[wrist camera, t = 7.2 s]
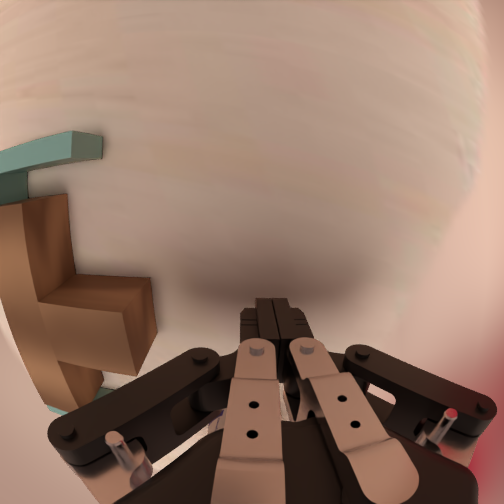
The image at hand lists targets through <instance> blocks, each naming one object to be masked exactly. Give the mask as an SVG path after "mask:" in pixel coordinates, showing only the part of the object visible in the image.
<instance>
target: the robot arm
mask: <svg viewBox="0 0 504 504" xmlns="http://www.w3.org/2000/svg"><path fill="white" fill-rule="evenodd" d="M279 383H284V391H283V398H284V402H285V405H286V409H287V412H288V416H289V419H290V421H283V420H281V414H280V393H279ZM370 383H371V384H373V385H375V386H377V387H379V388H381V389H383V390H385V391H387V392H389V393H391V394H392V395H393V396H394V397H395V399H396V403H395V405H393V404H390V403H389V402H386V401H385V400H383V399H381V398H379V397H377V396H375V395H373V394H371V393H369V392H367V390H368V388H369V385H370ZM225 408H227V412H226V419H225V425H224V428H222V429H219V430H216V431H214V432H212V433H210V434H208V435H206V436H205V437H203V438H201V439H200V440H199V441H198V442H196V443H195V444H194V445H193V446H192V447H190V448H189V449H188V450H187V451H185V452H184V453H183V454H182V455H180V456H179V457H178V458H177V459H175V460H174V461H173V462H171V463H170V464H169V465H167V466H166V467H165V468H163V469H162V470H161V471H159V472H158V473H157V474H155V475H154V476H153V477H151V475H152V472H153V468H152V464H153V463H155V462H156V461H158V460H159V459H161V458H162V457H164V456H165V455H167V454H168V453H169V452H171V451H172V450H174V449H175V448H177V447H178V446H179V445H181V444H182V443H183V442H185V441H186V440H188V439H189V438H190V437H192V436H193V435H194V434H196V433H197V432H198V431H200V430H201V429H202V428H203V427H205V426H206V425H207V424H209V423H210V422H211V421H212V420H214V419H215V418H216V417H217V416H219V415H220V413H221V412H222V409H225ZM496 413H497V407H496V404H495V403H494V401H493V400H492V399H491V398H489V397H488V396H486V395H483V394H480V393H478V392H475V391H473V390H470V389H468V388H465V387H462V386H460V385H458V384H455V383H453V382H450V381H448V380H446V379H443V378H441V377H438V376H436V375H434V374H431V373H429V372H427V371H424V370H422V369H420V368H417V367H415V366H412V365H410V364H408V363H406V362H403V361H401V360H399V359H396V358H394V357H392V356H390V355H388V354H385V353H383V352H381V351H379V350H376V349H374V348H372V347H370V346H367V345H361V344H357V345H352V346H350V347H348V348H347V349H346V351H345V354H340V353H333V352H329V351H327V350H326V348H325V346H324V345H323V344H322V343H321V342H320V341H318V340H316V339H314V336H313V334H312V332H311V329H310V327H309V325H308V322H307V320H306V317H305V315H304V313H303V312H302V311H301V310H300V309H298V308H290V306H289V303H288V300H287V298H272V299H271V298H256V300H255V308H244V310H243V311H242V312H241V313H240V345H239V347H238V349H237V350H236V351H235V352H234V353H232V354H229V355H225V356H220V357H219V355H218V353H217V352H215V351H214V350H212V349H209V348H193V349H190V350H188V351H186V352H184V353H183V354H181V355H179V356H177V357H175V358H174V359H172V360H170V361H168V362H167V363H165V364H163V365H161V366H159V367H158V368H156V369H154V370H152V371H150V372H148V373H147V374H145V375H143V376H141V377H139V378H137V379H135V380H133V381H132V382H130V383H128V384H126V385H124V386H122V387H120V388H118V389H116V390H114V391H112V392H110V393H108V394H106V395H104V396H102V397H100V398H98V399H96V400H94V401H92V402H90V403H88V404H86V405H84V406H82V407H80V408H78V409H76V410H73V411H71V412H69V413H67V414H65V415H63V416H61V417H58V418H57V419H55V420H54V421H53V422H52V423H51V424H50V426H49V428H48V433H47V434H48V439H49V441H50V442H51V444H52V445H53V446H54V448H55V449H56V450H57V451H58V453H59V454H60V456H61V458H62V459H63V460H64V461H65V463H66V464H67V465H68V466H69V467H70V468H71V470H72V471H73V472H74V473H75V474H76V475H77V476H78V477H79V478H80V479H81V480H82V481H83V483H84V484H85V485H86V487H87V488H88V490H89V491H90V492H91V493H92V495H93V496H94V497H95V499H96V500H97V501H98V502H99V504H478V484H477V480H476V478H475V476H474V475H473V473H472V472H471V471H470V470H469V469H468V466H469V463H470V460H471V458H472V455H473V452H474V449H475V447H476V444H477V440H478V438H479V437H480V435H481V434H482V433H483V432H484V430H485V429H486V428H487V426H488V425H489V424H490V422H491V421H492V420H493V418H494V417H495V415H496ZM150 477H151V478H150Z"/></svg>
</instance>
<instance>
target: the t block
mask: <svg viewBox="0 0 504 504" xmlns="http://www.w3.org/2000/svg"><path fill="white" fill-rule="evenodd" d="M0 298H1V301H2V305H3V308H4V311H5V314H6V318H7V321H8V324H9V326H10V329H11V332H12V335H13V337H14V340H15V343H16V345H17V348H18V350H19V352H20V355H21V357H22V360H23V362H24V364H25V366H26V368H27V371H28V373H29V375H30V377H31V379H32V381H33V383H34V385H35V387H36V389H37V391H38V393H39V394H40V396H41V398H42V400H43V402H44V403H45V404H46V405H49V406H51V407H54V408H57V409H60V410H62V411H65V412H68V413H69V412H71V411H73V410H76V409H78V408H80V407H82V406H84V405H86V404H88V403H90V402H92V401H93V399H94V397H95V396H96V394H97V392H98V390H99V389H100V387H101V385H102V383H103V382H104V378H103V375H102V372H101V370H102V371H107V372H113V373H118V374H124V375H131V376H137V375H138V373H139V371H140V369H141V367H142V364H143V362H144V360H145V358H146V356H147V354H148V352H149V350H150V347H151V345H152V343H153V341H154V339H155V337H156V335H157V327H156V321H155V314H154V307H153V299H152V291H151V282H150V278H141V277H119V276H100V275H83V274H76V271H75V265H74V259H73V252H72V244H71V236H70V226H69V215H68V199H67V194H60V195H51V196H43V197H35V198H28V199H24V200H19V201H15V202H10V203H6V204H2V205H0Z"/></svg>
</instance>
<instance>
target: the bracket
mask: <svg viewBox="0 0 504 504" xmlns="http://www.w3.org/2000/svg"><path fill="white" fill-rule="evenodd" d="M102 140H103V137H102V136H97V135H92V134H87V133H82V132H77V131H68V132H64V133H60V134H56V135H52V136H48V137H44V138H41V139H37V140H34V141H30V142H27V143H24V144H21V145H18V146H14V147H11V148H9V149H6V150H3V151H0V205H2V204H6V203H10V202H15V201H19V200H24V199H28V190H27V171H32V170H36V169H41V168H46V167H52V166H57V165H63V164H69V163H75V162H81V161H88V160H96V159H102ZM112 391H114V390H111V389H106V388H101V387H100V389H99V390H98V392H97V394H96V396H95V397H94V399H93V401H94V400H96V399H98V398H100V397H102V396H104V395H106V394H108V393H110V392H112ZM47 407H48V408H49V410H50V411H52V412H55V413H58V414H60V415H65V414H67V413H68V412H65V411H62V410H60V409H57V408H54V407H51V406H49V405H47Z"/></svg>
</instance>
